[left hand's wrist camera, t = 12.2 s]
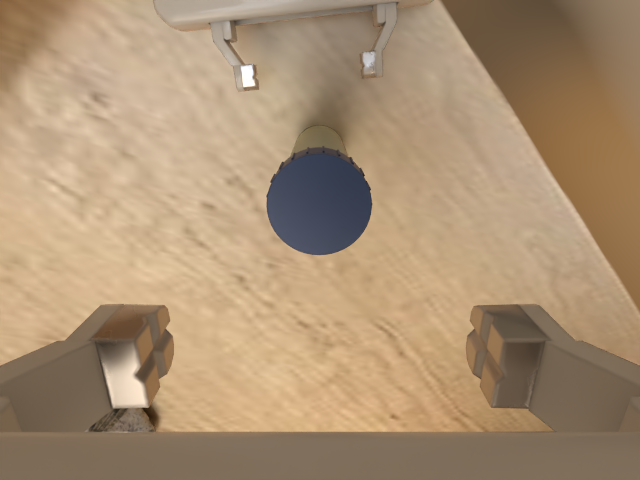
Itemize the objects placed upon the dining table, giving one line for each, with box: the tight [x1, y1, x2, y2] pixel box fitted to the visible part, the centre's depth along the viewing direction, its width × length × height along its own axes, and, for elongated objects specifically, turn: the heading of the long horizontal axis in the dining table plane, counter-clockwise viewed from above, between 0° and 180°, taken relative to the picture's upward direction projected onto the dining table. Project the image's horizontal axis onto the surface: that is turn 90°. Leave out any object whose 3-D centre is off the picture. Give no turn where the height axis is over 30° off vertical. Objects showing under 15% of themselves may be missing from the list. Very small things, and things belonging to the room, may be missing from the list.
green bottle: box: [290, 125, 348, 157], centre depth 29 cm, size 5×5×18 cm
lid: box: [267, 146, 372, 255], centre depth 21 cm, size 5×5×2 cm
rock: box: [84, 408, 155, 432], centre depth 47 cm, size 15×10×7 cm
